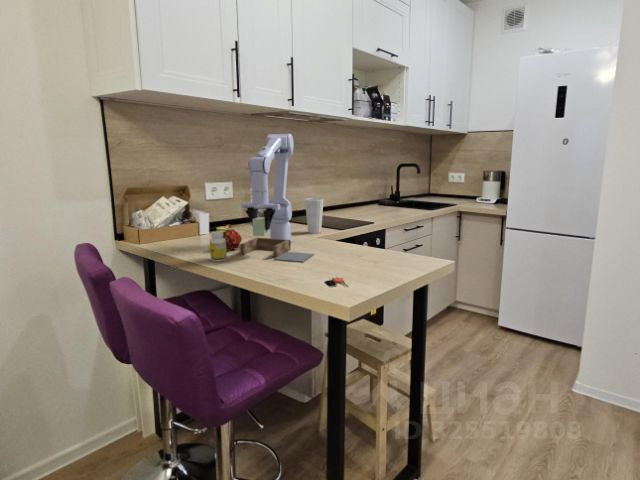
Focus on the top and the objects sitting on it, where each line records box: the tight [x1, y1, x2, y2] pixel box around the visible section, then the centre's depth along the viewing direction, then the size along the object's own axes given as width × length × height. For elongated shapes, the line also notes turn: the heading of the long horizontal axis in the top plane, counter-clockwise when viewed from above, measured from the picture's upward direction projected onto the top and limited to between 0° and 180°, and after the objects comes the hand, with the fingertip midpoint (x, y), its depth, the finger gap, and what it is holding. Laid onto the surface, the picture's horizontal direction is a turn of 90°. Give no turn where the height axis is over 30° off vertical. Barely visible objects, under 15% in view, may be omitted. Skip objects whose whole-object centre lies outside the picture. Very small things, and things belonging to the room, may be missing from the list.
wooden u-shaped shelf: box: [239, 237, 292, 259], centre depth 155 cm, size 13×14×4 cm
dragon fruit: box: [222, 228, 243, 251], centre depth 160 cm, size 8×8×12 cm
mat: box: [273, 251, 315, 263], centre depth 147 cm, size 11×11×1 cm
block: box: [252, 216, 270, 237], centre depth 150 cm, size 4×4×6 cm
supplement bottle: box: [209, 230, 228, 263], centre depth 144 cm, size 5×5×10 cm
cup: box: [304, 197, 324, 234], centre depth 191 cm, size 8×8×16 cm
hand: (261, 228), depth 150 cm, fingers closed on block, 4 cm apart
